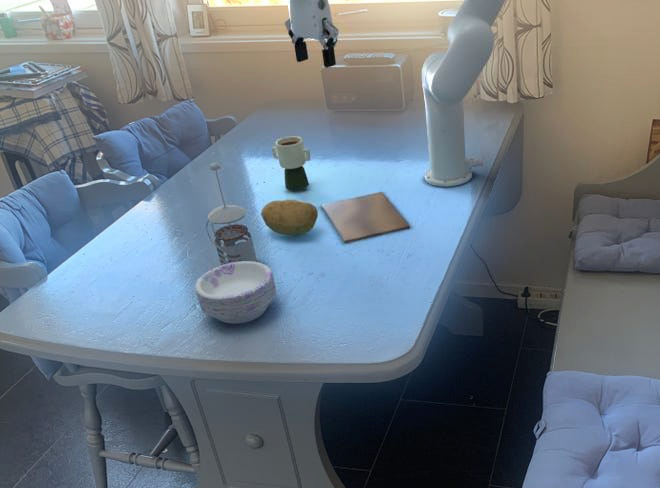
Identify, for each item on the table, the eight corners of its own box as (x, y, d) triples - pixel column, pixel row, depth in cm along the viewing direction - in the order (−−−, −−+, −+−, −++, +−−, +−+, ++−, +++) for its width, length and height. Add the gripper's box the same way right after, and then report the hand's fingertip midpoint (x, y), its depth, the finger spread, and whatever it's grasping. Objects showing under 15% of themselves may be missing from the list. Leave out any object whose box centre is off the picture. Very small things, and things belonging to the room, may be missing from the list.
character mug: (321, 184, 204) (314, 137, 196) (309, 195, 199) (301, 147, 191) (286, 181, 207) (277, 134, 200) (273, 192, 202) (263, 144, 194)
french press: (242, 286, 163) (213, 175, 148) (203, 274, 168) (172, 167, 153) (272, 265, 169) (248, 157, 154) (234, 255, 174) (207, 150, 160)
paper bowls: (232, 287, 162) (223, 255, 158) (293, 298, 157) (286, 264, 152) (188, 326, 151) (178, 292, 147) (253, 338, 146) (244, 303, 141)
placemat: (381, 193, 196) (381, 191, 196) (409, 228, 179) (409, 225, 179) (322, 207, 192) (321, 204, 192) (345, 243, 175) (344, 240, 175)
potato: (276, 221, 187) (270, 191, 182) (327, 227, 183) (322, 196, 178) (256, 239, 180) (249, 208, 175) (309, 245, 176) (303, 214, 171)
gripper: (343, -17, 166) (353, 64, 176) (292, -22, 176) (304, 54, 186) (318, -10, 162) (329, 72, 172) (267, -16, 172) (280, 62, 182)
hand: (316, 63), depth 179 cm, fingers open, 9 cm apart
